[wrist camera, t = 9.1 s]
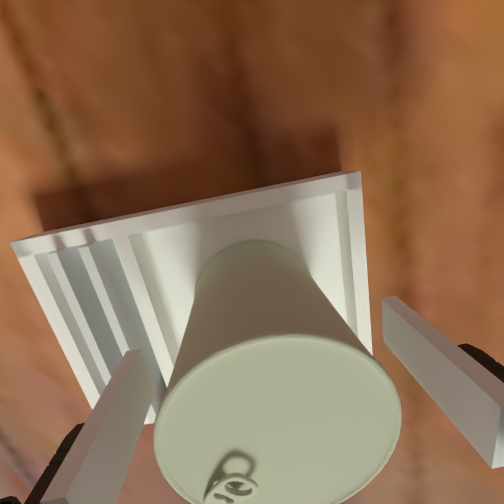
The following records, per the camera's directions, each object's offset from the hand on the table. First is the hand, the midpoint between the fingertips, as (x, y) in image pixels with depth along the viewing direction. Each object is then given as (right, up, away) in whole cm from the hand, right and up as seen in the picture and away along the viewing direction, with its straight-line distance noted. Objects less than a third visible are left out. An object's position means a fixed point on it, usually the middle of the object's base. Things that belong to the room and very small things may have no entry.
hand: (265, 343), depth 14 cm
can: (0, +2, +6) cm, 7 cm away
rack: (-3, +1, +7) cm, 8 cm away
